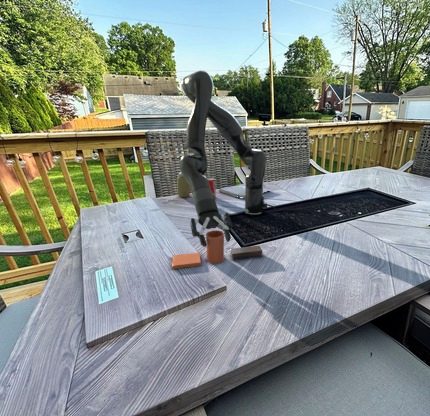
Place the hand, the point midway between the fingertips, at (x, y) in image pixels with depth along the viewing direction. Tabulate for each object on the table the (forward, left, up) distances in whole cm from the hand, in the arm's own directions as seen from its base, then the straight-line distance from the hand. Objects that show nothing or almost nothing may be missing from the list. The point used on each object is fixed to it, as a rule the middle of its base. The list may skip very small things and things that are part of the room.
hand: (217, 243), depth 91 cm
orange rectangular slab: (+10, -2, -7) cm, 13 cm away
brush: (-11, -1, -7) cm, 13 cm away
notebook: (-30, -85, -7) cm, 90 cm away
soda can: (-5, -75, -7) cm, 75 cm away
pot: (+1, -1, -7) cm, 7 cm away
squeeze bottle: (+10, -81, -7) cm, 82 cm away
